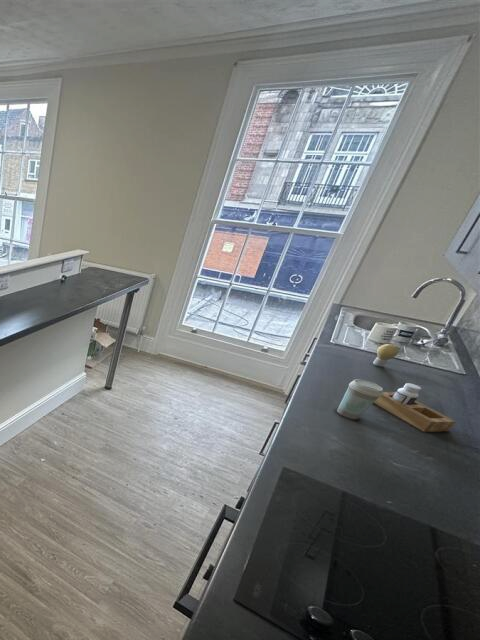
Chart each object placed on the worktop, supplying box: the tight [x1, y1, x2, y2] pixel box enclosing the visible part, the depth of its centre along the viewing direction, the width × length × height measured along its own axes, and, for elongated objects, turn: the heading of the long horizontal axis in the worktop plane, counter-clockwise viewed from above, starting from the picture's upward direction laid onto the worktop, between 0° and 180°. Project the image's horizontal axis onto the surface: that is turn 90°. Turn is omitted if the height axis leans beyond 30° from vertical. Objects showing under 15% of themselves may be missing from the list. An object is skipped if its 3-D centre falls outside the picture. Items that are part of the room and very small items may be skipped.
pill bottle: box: [392, 382, 422, 405], centre depth 141 cm, size 5×5×10 cm
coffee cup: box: [336, 378, 384, 420], centre depth 134 cm, size 9×8×12 cm
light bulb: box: [373, 343, 399, 368], centre depth 174 cm, size 6×6×10 cm
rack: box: [373, 391, 457, 433], centre depth 139 cm, size 10×18×4 cm, turn 8°
